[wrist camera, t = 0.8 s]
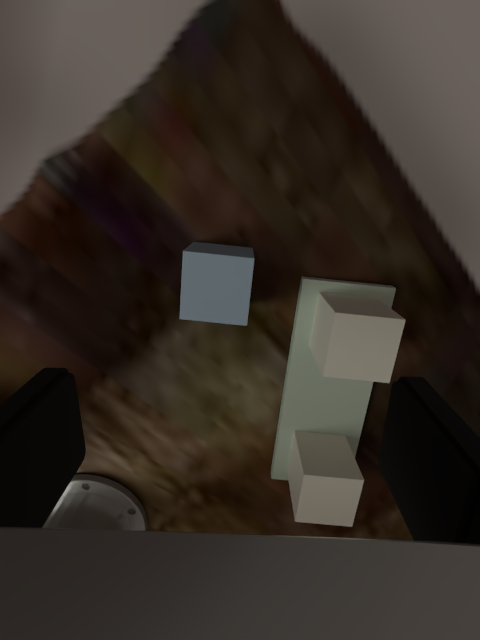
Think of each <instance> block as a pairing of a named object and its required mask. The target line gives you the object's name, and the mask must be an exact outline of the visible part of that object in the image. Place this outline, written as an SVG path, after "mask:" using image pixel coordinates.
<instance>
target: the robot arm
mask: <svg viewBox="0 0 480 640" xmlns="http://www.w3.org/2000/svg"><path fill="white" fill-rule="evenodd" d="M85 451H86V449H85V442H84V435H83V429H82V423H81V416H80V410H79V403H78V397H77V391H76V384H75V378H74V375H73V374H72V373H69V372H68V370H67V369H66V368H44V369H42V370H41V371H40V372H39V373H37V374H36V375H35V376H34V377H33V378H32V379H30V380H29V381H28V382H27V383H26V384H25V385H24V386H22V387H21V388H20V389H19V390H18V391H17V392H15V393H14V394H13V395H12V396H11V397H10V398H8V399H7V400H6V401H5V402H4V403H3V404H2V405H0V640H480V438H479V437H478V436H477V435H476V434H475V433H474V432H473V431H472V430H471V429H470V427H469V426H468V425H467V424H466V423H465V422H464V421H463V420H462V419H461V418H460V417H459V416H458V414H457V413H456V412H455V411H454V410H453V409H452V408H451V407H450V406H449V405H448V404H447V403H446V402H445V400H444V399H443V398H442V397H441V396H440V395H439V394H438V393H437V392H436V391H435V390H434V389H433V388H432V386H431V385H430V384H429V383H428V382H427V381H426V380H425V379H424V378H423V377H400V378H399V380H398V381H395V382H393V384H392V388H391V394H390V399H389V405H388V411H387V416H386V422H385V428H384V433H383V439H382V445H381V450H380V456H379V463H380V469H381V471H382V473H383V475H384V478H385V480H386V482H387V484H388V486H389V488H390V490H391V493H392V495H393V497H394V499H395V501H396V503H397V505H398V507H399V510H400V512H401V514H402V516H403V518H404V520H405V522H406V525H407V527H408V529H409V531H410V533H411V535H412V537H413V539H414V540H388V539H363V538H337V537H311V536H284V535H256V534H227V533H197V532H166V531H147V522H148V521H147V517H146V512H145V510H144V508H143V506H142V504H141V503H140V502H139V500H138V499H137V497H136V496H135V495H134V494H132V493H131V492H130V491H129V490H128V489H127V488H125V487H124V486H122V485H121V484H119V483H117V482H115V481H112V480H110V479H107V478H104V477H100V476H96V475H88V474H78V475H75V473H76V472H77V470H78V469H79V467H80V465H81V464H82V462H83V460H84V457H85Z"/></svg>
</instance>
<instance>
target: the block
mask: <svg viewBox="0 0 480 640" xmlns="http://www.w3.org/2000/svg"><path fill="white" fill-rule="evenodd" d="M254 259H255V258H254V253H253V248H249V247H240V246H230V245H221V244H211V243H202V242H193V243H192V244H191V245H190V246H189V247H187V248H186V249H185V250H184V251H183V263H182V282H181V301H180V319H185V320H195V321H205V322H215V323H225V324H235V325H245V326H247V320H248V311H249V302H250V294H251V285H252V276H253V267H254Z"/></svg>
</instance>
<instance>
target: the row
mask: <svg viewBox="0 0 480 640" xmlns="http://www.w3.org/2000/svg"><path fill="white" fill-rule="evenodd" d="M395 291H396V288H395V287H393V286H390V285H380V284H371V283H361V282H351V281H342V280H332V279H322V278H313V277H303V276H301V282H300V288H299V294H298V301H297V307H296V314H295V320H294V326H293V333H292V339H291V345H290V352H289V358H288V364H287V371H286V377H285V383H284V390H283V396H282V403H281V409H280V415H279V422H278V428H277V434H276V441H275V447H274V453H273V460H272V466H271V479H279V480H288V481H289V487H290V494H291V500H292V506H293V513H294V519H295V522H304V523H315V524H327V525H338V526H349V527H352V525H353V521H354V518H355V514H356V510H357V506H358V502H359V498H360V494H361V491H362V487H363V483H364V479H363V476H362V474H361V472H360V469H359V467H358V465H357V462H356V460H355V456H356V452H357V447H358V443H359V439H360V435H361V431H362V427H363V423H364V419H365V415H366V410H367V406H368V402H369V398H370V394H371V390H372V386H373V382H384V383H389V382H390V379H391V375H392V371H393V367H394V363H395V359H396V355H397V352H398V348H399V344H400V340H401V336H402V332H403V328H404V325H405V321H406V320H405V319H404V318H403V317H401V316H400V315H399V314H397V313H396V312H395V311H393V310H392V309H391V308H392V304H393V299H394V295H395Z"/></svg>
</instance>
